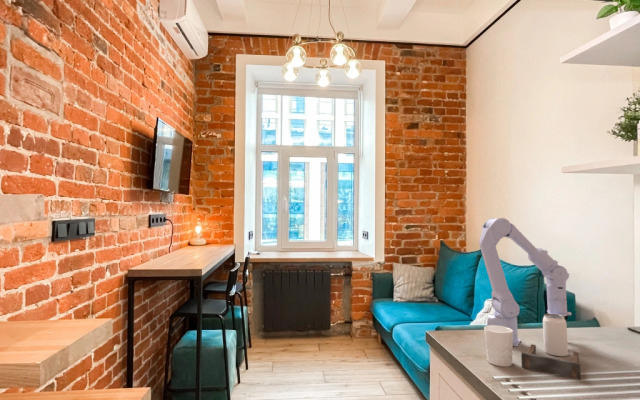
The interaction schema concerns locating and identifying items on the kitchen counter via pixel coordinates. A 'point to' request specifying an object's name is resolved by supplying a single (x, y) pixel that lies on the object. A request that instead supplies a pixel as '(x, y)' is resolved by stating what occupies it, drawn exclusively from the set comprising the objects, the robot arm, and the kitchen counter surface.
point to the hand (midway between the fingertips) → (558, 338)
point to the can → (555, 335)
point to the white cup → (499, 345)
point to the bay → (551, 364)
